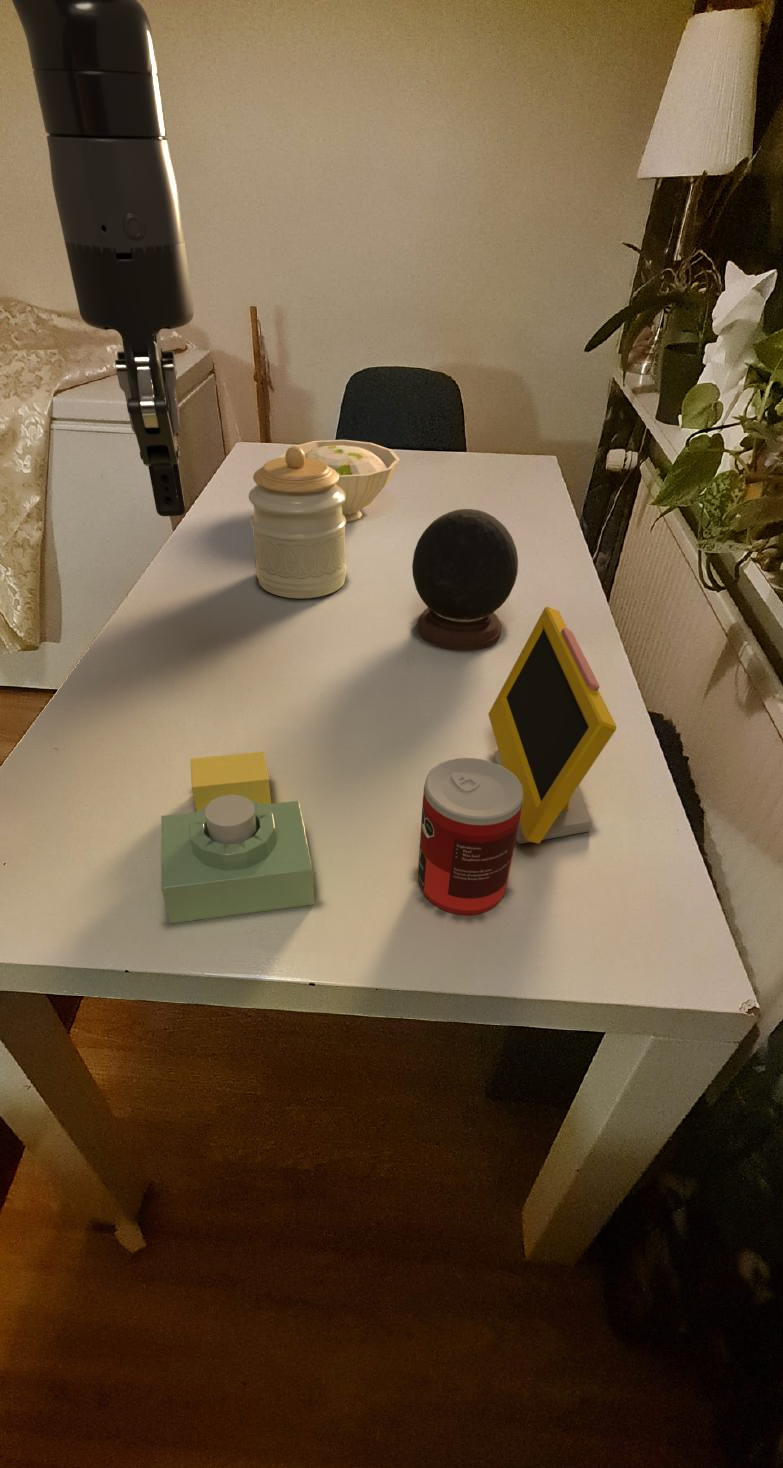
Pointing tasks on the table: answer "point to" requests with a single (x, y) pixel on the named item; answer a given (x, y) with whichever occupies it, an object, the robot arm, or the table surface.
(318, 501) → the jar
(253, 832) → the grey push button
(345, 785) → the table surface
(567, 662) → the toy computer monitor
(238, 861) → the push button box
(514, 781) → the canned food
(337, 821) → the table surface
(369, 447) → the bowl
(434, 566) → the sphere on stand
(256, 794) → the sponge
